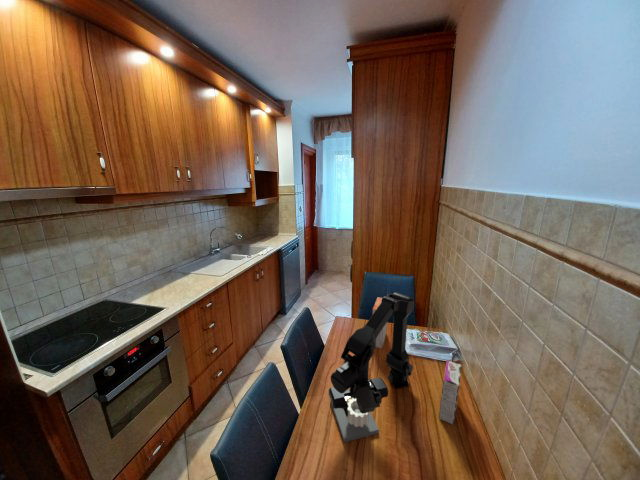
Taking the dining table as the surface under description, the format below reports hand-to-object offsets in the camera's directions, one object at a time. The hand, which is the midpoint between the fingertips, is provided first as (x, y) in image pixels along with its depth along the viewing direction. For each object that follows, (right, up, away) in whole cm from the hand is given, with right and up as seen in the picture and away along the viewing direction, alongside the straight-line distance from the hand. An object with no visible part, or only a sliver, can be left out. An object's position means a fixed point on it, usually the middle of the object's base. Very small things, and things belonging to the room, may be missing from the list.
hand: (357, 412), depth 82 cm
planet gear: (0, -1, 0) cm, 2 cm away
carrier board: (-1, -5, +5) cm, 7 cm away
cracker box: (+18, +5, +46) cm, 50 cm away
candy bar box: (+33, -4, +7) cm, 34 cm away
